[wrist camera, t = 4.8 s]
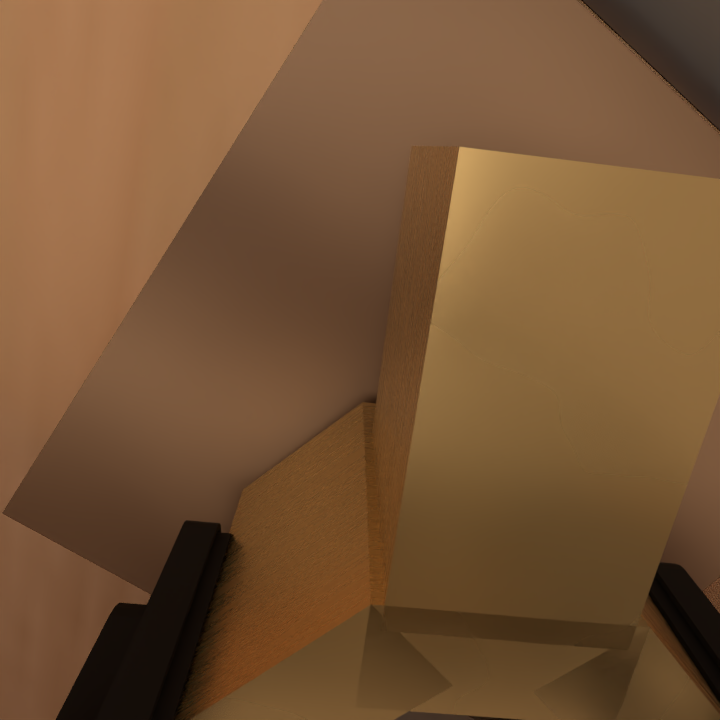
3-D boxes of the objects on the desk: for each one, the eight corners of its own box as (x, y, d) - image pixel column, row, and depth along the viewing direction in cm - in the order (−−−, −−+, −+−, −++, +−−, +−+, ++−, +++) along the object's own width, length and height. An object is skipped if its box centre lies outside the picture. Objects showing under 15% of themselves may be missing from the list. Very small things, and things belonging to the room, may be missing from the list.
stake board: (476, 734, 14) (530, 1018, 10) (30, 484, 12) (-182, 702, 7) (914, 348, 11) (1331, 503, 6) (411, -118, 8) (471, -443, 4)
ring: (545, 706, 12) (649, 1010, 8) (232, 683, 12) (165, 987, 7) (705, 182, 8) (1057, 219, 4) (261, 128, 8) (164, 109, 4)
